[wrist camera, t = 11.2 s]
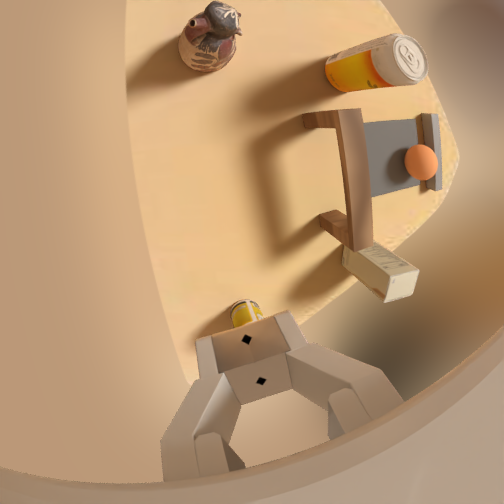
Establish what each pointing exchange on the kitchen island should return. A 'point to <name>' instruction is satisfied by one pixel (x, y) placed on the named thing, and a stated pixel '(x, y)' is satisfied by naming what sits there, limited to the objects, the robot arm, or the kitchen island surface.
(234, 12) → the figurine
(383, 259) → the skincare box
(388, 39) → the beer can
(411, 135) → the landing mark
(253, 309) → the supplement bottle
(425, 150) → the ball
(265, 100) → the kitchen island surface
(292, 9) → the kitchen island surface
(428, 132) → the stopper
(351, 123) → the bridge
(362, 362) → the robot arm
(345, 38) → the kitchen island surface
